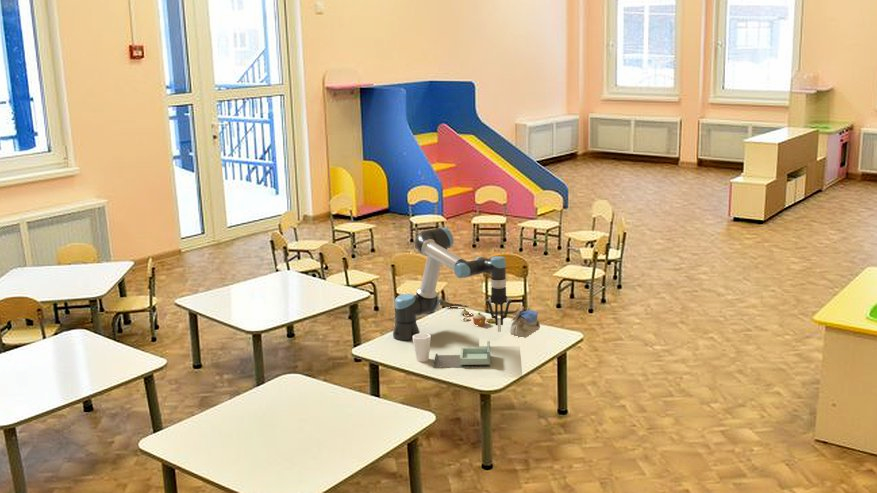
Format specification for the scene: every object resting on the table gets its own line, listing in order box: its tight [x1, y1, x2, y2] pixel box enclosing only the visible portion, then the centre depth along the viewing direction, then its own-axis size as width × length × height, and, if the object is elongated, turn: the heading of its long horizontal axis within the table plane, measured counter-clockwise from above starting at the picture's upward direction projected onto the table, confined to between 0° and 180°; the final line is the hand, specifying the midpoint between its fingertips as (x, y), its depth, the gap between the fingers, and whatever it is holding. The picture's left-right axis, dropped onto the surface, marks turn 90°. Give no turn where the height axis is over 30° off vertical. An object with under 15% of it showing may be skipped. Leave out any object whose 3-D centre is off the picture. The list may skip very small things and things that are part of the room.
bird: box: [439, 298, 470, 309], centre depth 537 cm, size 18×8×10 cm, turn 71°
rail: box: [432, 353, 491, 369], centre depth 451 cm, size 18×29×1 cm, turn 86°
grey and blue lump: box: [509, 306, 541, 339], centre depth 494 cm, size 26×16×16 cm, turn 150°
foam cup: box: [412, 332, 432, 363], centre depth 454 cm, size 10×9×13 cm
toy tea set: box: [460, 308, 495, 327], centre depth 514 cm, size 26×16×10 cm, turn 45°
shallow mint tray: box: [459, 340, 491, 365], centre depth 450 cm, size 17×15×7 cm
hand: (499, 331), depth 446 cm, fingers closed
